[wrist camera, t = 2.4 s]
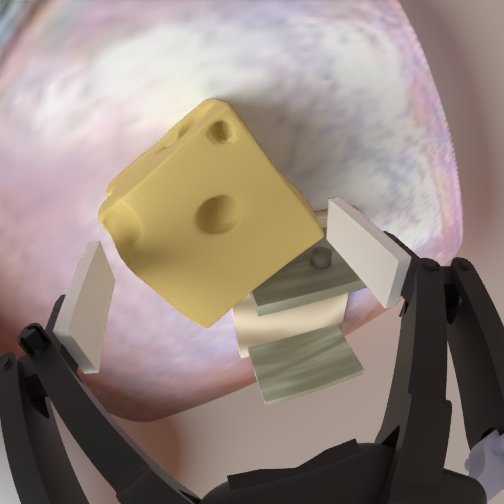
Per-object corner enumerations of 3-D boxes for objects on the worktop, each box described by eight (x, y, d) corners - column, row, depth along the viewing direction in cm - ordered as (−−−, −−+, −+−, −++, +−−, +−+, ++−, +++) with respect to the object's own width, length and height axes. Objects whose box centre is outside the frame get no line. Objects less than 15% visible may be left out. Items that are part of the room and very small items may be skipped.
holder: (219, 229, 26) (241, 299, 18) (353, 205, 28) (411, 255, 20) (238, 349, 36) (257, 411, 28) (335, 323, 38) (367, 375, 31)
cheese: (111, 179, 21) (76, 240, 13) (211, 89, 19) (237, 90, 11) (192, 254, 27) (205, 334, 19) (284, 182, 25) (339, 237, 17)
